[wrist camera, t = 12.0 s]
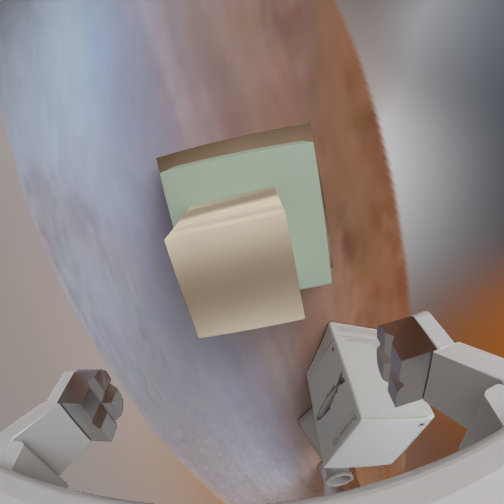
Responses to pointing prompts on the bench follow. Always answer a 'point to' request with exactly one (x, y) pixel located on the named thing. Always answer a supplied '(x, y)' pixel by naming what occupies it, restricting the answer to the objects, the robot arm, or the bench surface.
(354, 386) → the supplement box
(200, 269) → the birch block
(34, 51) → the bench surface
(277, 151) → the tower top block
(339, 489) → the beer glass
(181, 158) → the tower base slab
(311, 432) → the flask
